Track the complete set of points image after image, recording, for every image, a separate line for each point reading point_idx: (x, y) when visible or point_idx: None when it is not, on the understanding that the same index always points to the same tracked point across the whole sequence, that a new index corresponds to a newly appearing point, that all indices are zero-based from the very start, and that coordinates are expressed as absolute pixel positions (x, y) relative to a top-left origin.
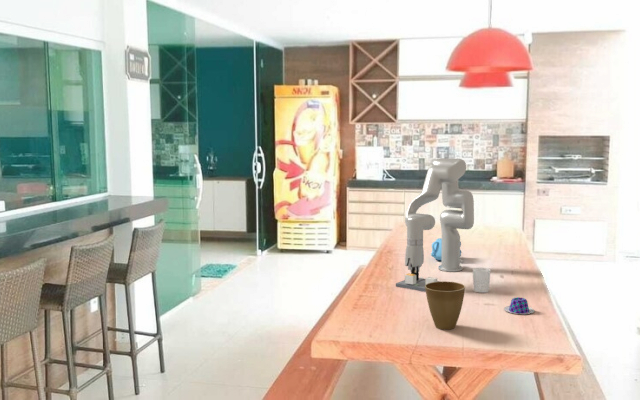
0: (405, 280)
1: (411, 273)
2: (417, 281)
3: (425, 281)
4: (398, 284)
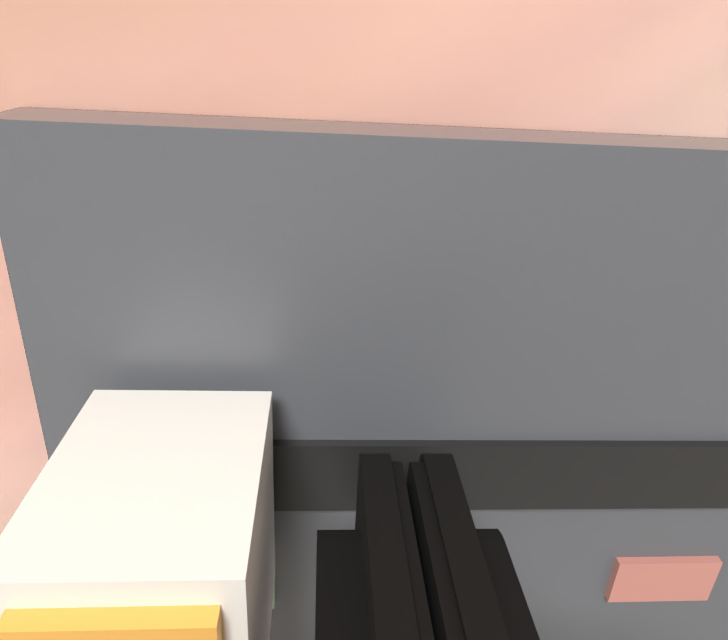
0: (69, 450)
1: (375, 614)
2: (488, 487)
3: (598, 572)
4: (4, 214)
